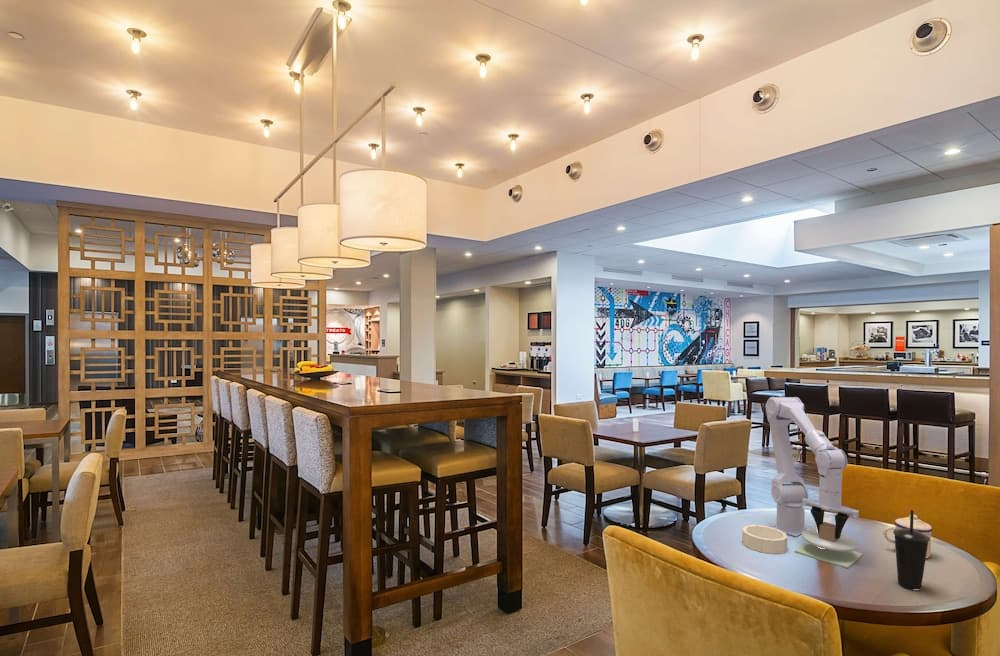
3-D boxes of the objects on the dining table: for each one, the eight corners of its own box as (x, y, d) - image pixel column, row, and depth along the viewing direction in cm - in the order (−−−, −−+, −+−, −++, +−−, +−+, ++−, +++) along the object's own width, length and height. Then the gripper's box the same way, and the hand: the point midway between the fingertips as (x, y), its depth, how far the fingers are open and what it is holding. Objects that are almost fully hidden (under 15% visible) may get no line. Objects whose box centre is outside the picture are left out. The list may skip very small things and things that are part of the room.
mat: (811, 540, 173) (811, 539, 173) (862, 555, 163) (862, 553, 163) (794, 552, 164) (794, 550, 164) (847, 568, 153) (847, 566, 153)
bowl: (752, 534, 177) (753, 522, 177) (792, 546, 168) (793, 533, 168) (735, 544, 169) (735, 531, 169) (776, 557, 160) (777, 543, 160)
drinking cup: (930, 596, 138) (932, 517, 138) (892, 588, 142) (895, 511, 142) (926, 584, 145) (928, 509, 145) (890, 576, 149) (893, 503, 149)
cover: (811, 528, 173) (812, 513, 173) (862, 543, 162) (863, 527, 162) (794, 539, 164) (795, 523, 164) (847, 555, 153) (848, 538, 153)
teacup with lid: (924, 550, 168) (925, 512, 167) (936, 562, 159) (937, 522, 159) (878, 544, 172) (879, 507, 172) (887, 555, 163) (889, 516, 163)
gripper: (799, 486, 166) (797, 531, 166) (854, 498, 155) (852, 546, 155) (807, 482, 170) (806, 526, 171) (861, 494, 160) (860, 540, 160)
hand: (829, 535), depth 163 cm, fingers closed on cover, 4 cm apart
